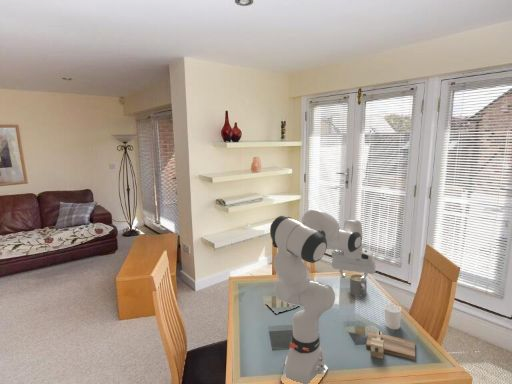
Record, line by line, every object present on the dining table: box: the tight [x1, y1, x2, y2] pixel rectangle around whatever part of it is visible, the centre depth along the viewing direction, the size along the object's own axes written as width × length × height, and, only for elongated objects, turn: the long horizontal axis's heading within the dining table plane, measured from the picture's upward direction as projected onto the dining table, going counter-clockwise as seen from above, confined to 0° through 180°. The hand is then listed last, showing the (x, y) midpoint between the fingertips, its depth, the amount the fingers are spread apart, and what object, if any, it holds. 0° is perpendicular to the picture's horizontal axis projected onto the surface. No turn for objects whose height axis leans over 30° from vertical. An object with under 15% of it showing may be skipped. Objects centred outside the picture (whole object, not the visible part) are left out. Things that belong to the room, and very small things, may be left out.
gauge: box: [370, 330, 385, 360], centre depth 133 cm, size 16×5×6 cm, turn 152°
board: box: [365, 330, 416, 361], centre depth 134 cm, size 11×20×2 cm, turn 62°
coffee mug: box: [349, 273, 368, 297], centre depth 184 cm, size 13×10×10 cm
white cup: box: [383, 304, 402, 330], centre depth 149 cm, size 8×8×10 cm
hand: (353, 279), depth 142 cm, fingers open, 8 cm apart
